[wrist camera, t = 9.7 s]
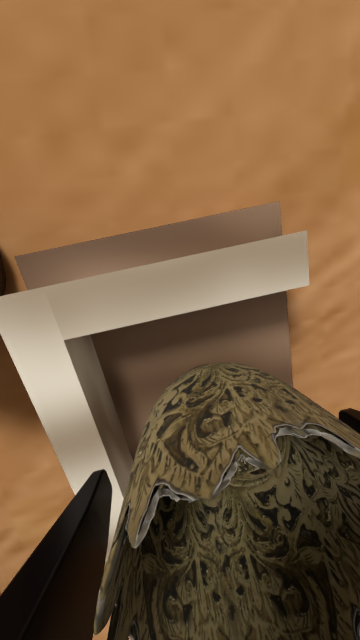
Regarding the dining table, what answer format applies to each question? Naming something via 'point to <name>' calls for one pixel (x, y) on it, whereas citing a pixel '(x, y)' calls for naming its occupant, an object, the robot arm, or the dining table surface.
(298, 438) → the cup
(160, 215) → the dining table surface
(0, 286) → the bobbin
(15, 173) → the dining table surface
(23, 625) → the robot arm
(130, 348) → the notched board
